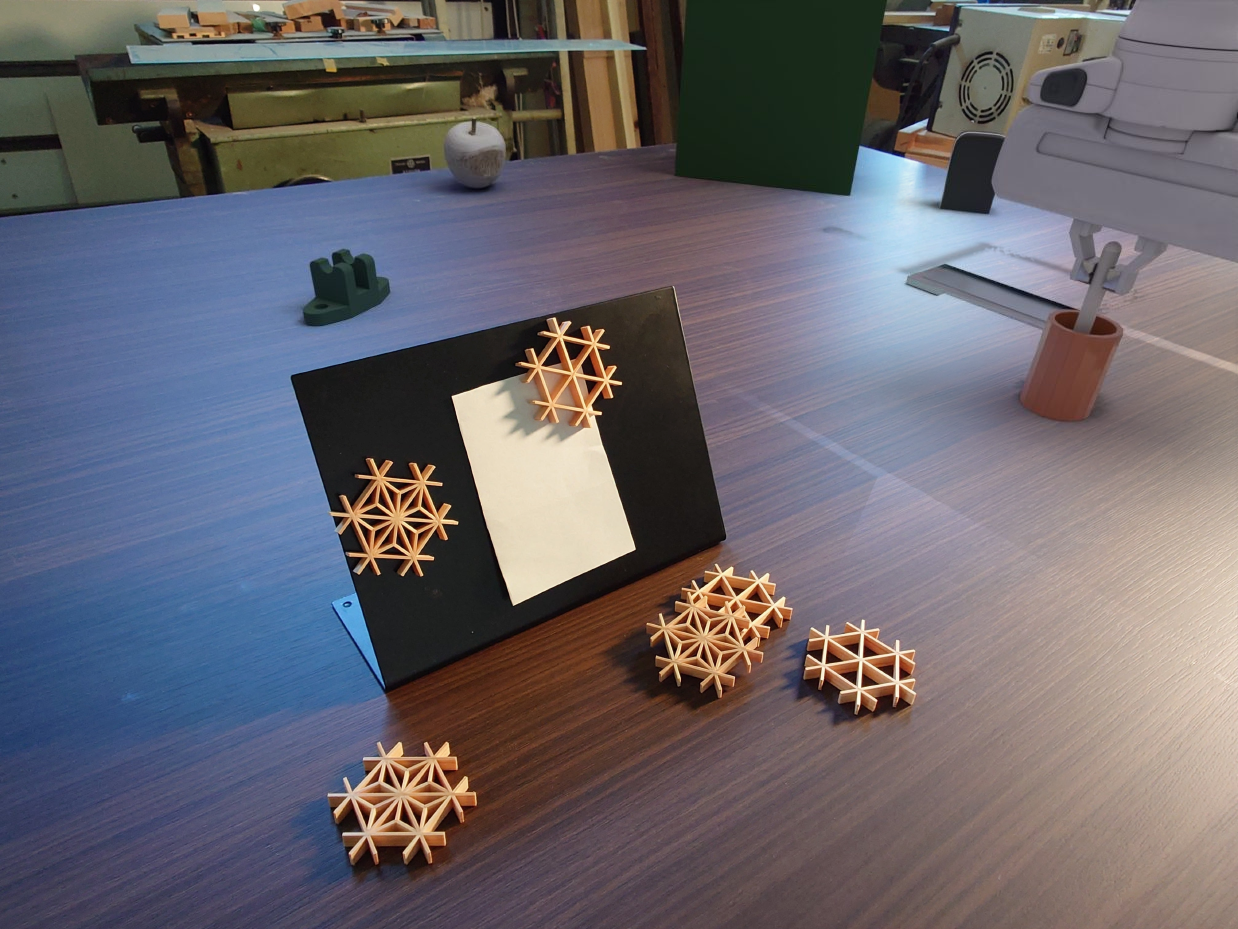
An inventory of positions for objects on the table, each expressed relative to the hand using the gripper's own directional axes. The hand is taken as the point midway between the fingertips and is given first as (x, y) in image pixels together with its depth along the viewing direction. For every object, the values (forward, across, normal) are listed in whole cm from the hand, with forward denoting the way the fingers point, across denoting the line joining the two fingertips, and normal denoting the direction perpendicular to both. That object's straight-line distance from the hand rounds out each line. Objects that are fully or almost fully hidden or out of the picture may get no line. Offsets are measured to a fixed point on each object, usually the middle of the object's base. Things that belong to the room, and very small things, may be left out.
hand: (1098, 285), depth 62 cm
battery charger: (+11, +36, -42) cm, 56 cm away
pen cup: (+11, 0, 0) cm, 11 cm away
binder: (+11, +67, -35) cm, 76 cm away
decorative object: (+11, +84, +8) cm, 85 cm away
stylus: (+10, 0, 0) cm, 10 cm away
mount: (+11, +53, +40) cm, 67 cm away
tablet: (+11, +16, -22) cm, 29 cm away
